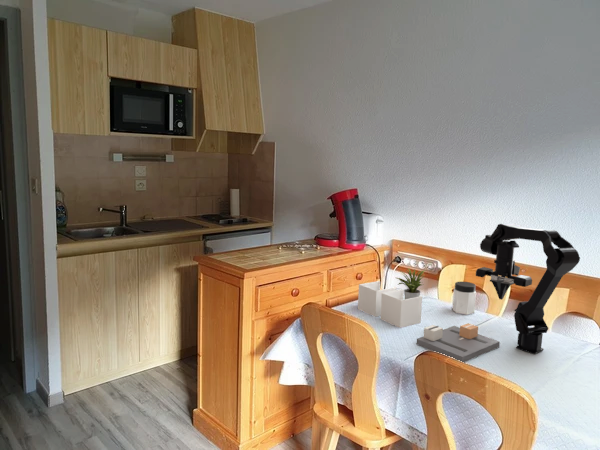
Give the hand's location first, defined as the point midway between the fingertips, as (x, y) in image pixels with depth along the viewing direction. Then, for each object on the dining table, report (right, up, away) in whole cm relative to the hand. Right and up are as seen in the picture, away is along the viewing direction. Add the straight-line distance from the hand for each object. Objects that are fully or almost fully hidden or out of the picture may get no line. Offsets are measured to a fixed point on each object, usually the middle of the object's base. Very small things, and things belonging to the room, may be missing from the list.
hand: (501, 299), depth 171 cm
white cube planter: (-38, -10, +18) cm, 43 cm away
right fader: (-15, -12, -8) cm, 20 cm away
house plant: (-25, -8, +34) cm, 43 cm away
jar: (-5, -9, +25) cm, 28 cm away
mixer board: (-20, -14, -11) cm, 27 cm away
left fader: (-28, -12, -10) cm, 32 cm away
